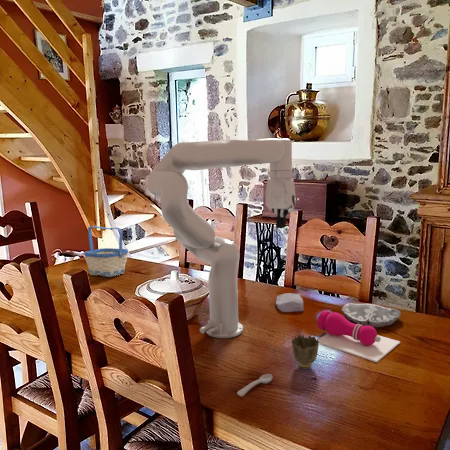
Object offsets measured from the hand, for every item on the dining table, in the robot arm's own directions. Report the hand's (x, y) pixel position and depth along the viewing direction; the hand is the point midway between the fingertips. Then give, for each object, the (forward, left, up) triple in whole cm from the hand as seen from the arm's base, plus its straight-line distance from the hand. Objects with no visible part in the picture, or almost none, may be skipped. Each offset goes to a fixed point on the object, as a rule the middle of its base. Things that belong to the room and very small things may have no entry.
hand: (281, 227), depth 159 cm
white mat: (-4, -32, -32) cm, 46 cm away
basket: (-13, +95, -32) cm, 101 cm away
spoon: (-44, -24, -33) cm, 60 cm away
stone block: (+8, +3, -33) cm, 34 cm away
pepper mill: (-4, -19, -28) cm, 34 cm away
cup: (-27, -28, -32) cm, 51 cm away
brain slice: (+15, -27, -33) cm, 45 cm away
